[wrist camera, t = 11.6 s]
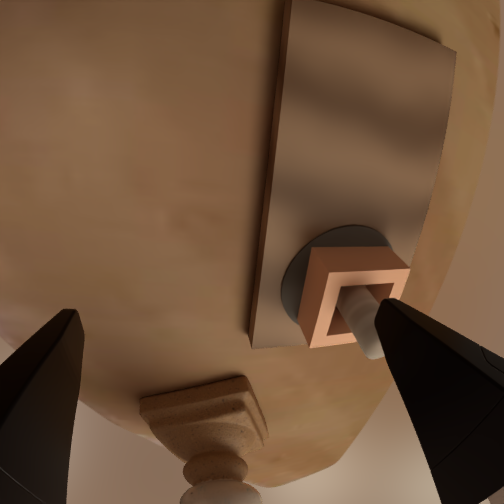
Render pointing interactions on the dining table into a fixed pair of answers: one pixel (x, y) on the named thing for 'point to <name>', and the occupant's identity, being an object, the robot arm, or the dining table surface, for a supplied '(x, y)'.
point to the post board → (346, 157)
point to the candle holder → (210, 437)
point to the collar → (345, 274)
